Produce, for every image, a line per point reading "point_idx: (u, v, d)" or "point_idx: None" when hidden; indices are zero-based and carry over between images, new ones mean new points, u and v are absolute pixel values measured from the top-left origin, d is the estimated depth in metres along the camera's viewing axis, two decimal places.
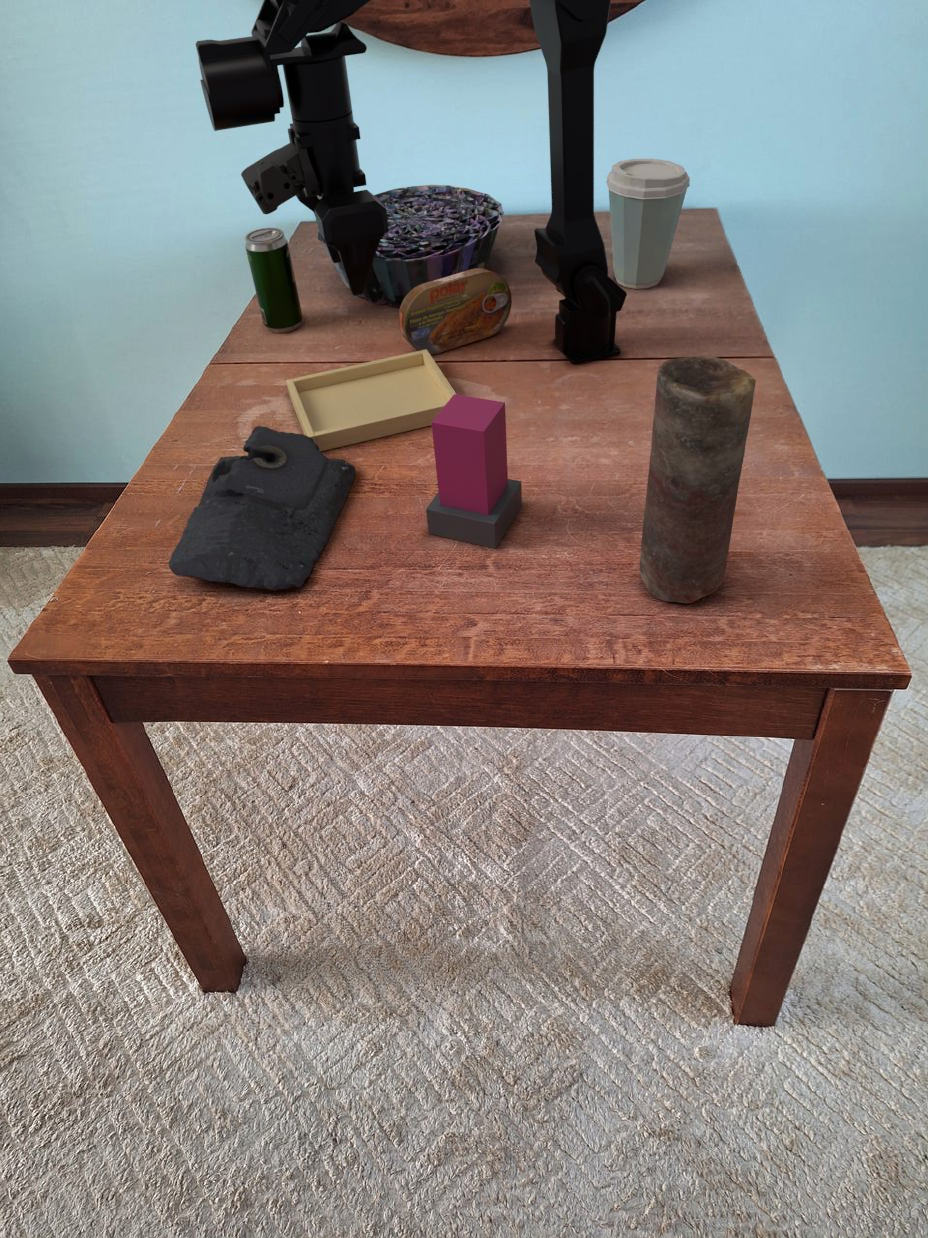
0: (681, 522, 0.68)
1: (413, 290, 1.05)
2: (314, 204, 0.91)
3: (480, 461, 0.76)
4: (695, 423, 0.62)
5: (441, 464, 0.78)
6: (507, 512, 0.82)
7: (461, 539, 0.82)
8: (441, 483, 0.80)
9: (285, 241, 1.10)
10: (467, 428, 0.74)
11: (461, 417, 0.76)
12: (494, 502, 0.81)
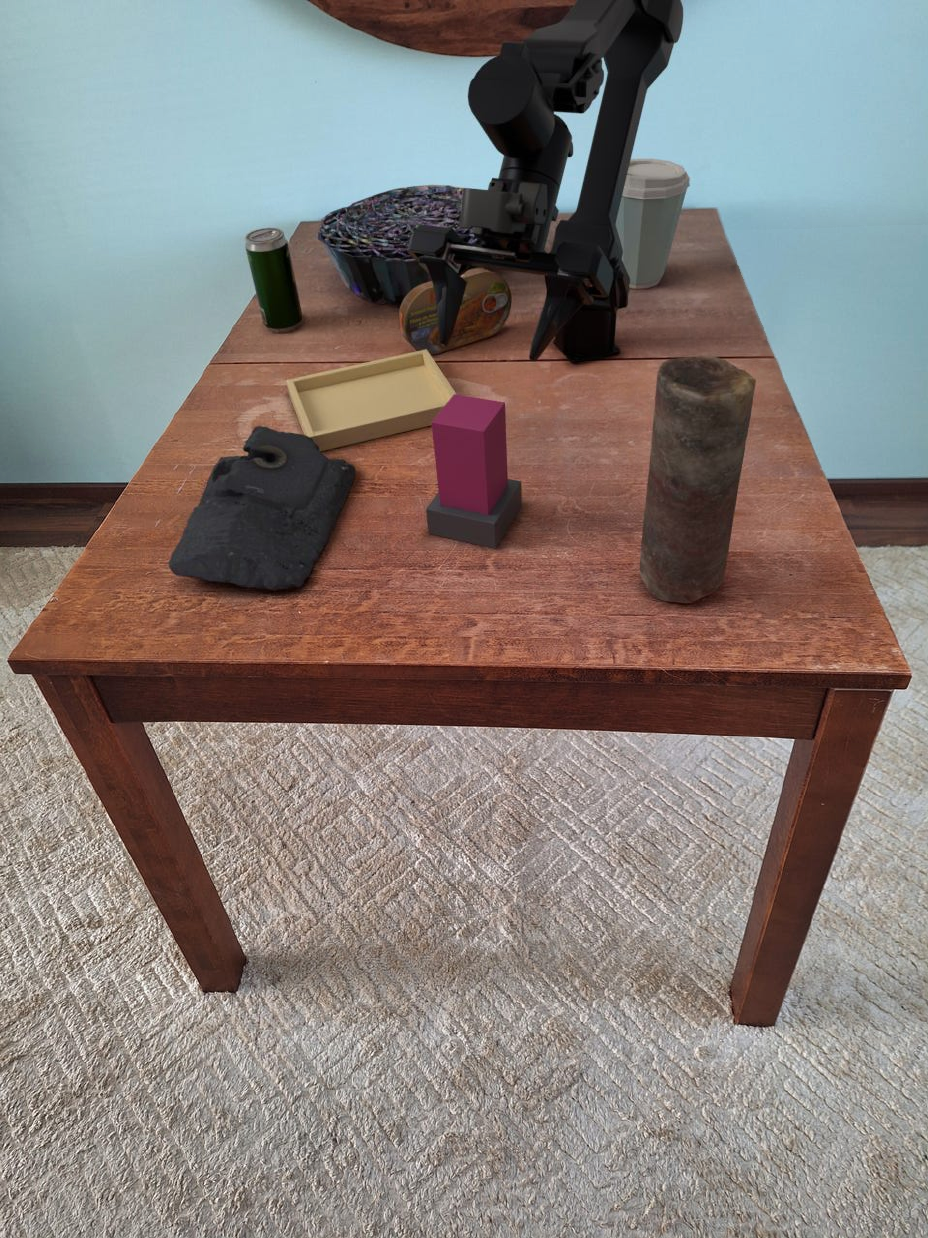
0: (681, 522, 0.68)
1: (413, 290, 1.05)
2: (449, 274, 0.81)
3: (480, 461, 0.76)
4: (695, 423, 0.62)
5: (441, 464, 0.78)
6: (507, 512, 0.82)
7: (461, 539, 0.82)
8: (441, 483, 0.80)
9: (285, 241, 1.10)
10: (467, 428, 0.74)
11: (461, 417, 0.76)
12: (494, 502, 0.81)
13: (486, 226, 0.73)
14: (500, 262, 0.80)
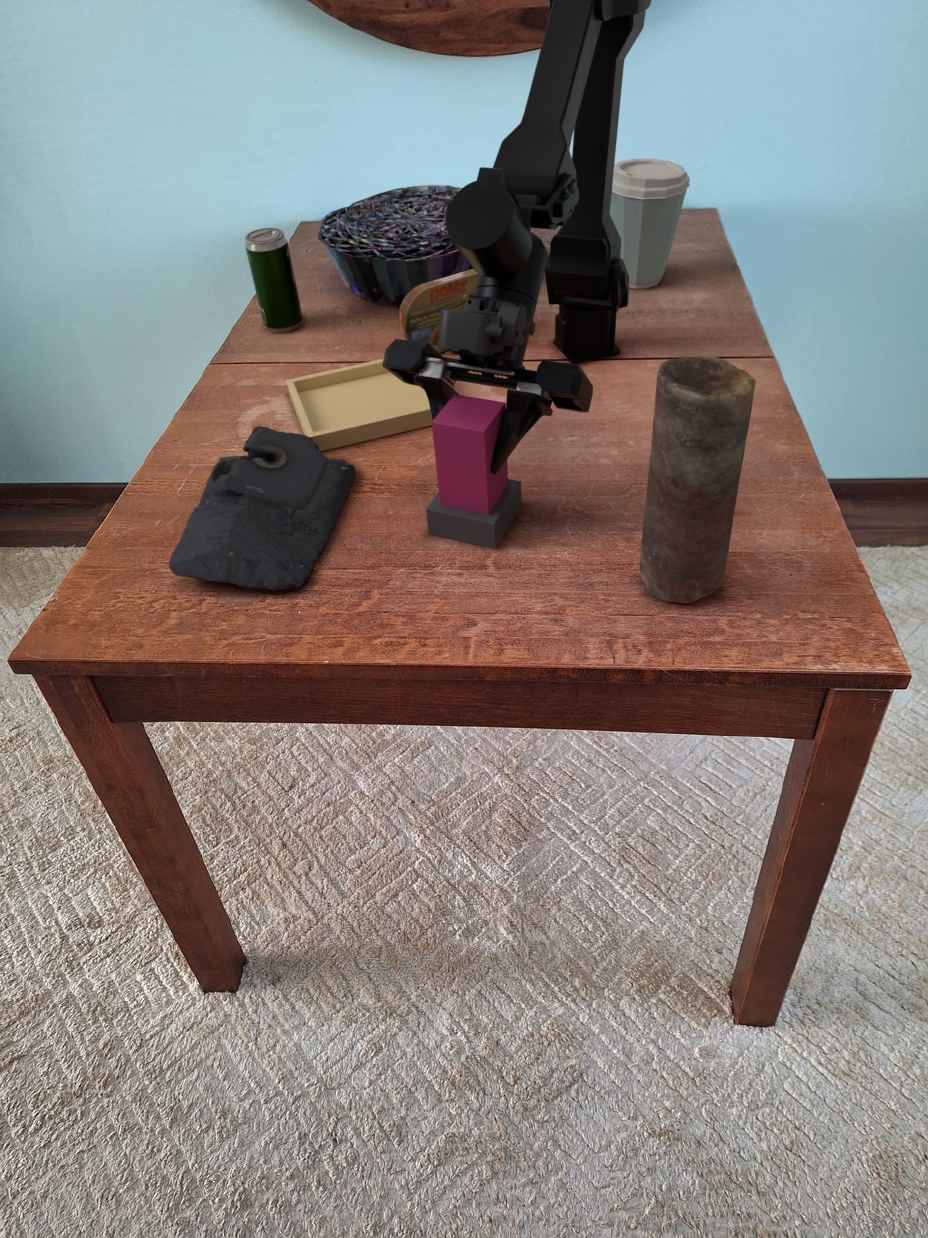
0: (681, 522, 0.68)
1: (413, 290, 1.05)
2: (445, 392, 0.78)
3: (481, 461, 0.76)
4: (695, 423, 0.62)
5: (442, 464, 0.78)
6: (507, 512, 0.82)
7: (461, 539, 0.82)
8: (441, 483, 0.80)
9: (285, 241, 1.10)
10: (468, 429, 0.74)
11: (462, 417, 0.76)
12: (494, 502, 0.81)
13: (465, 348, 0.71)
14: (478, 377, 0.78)
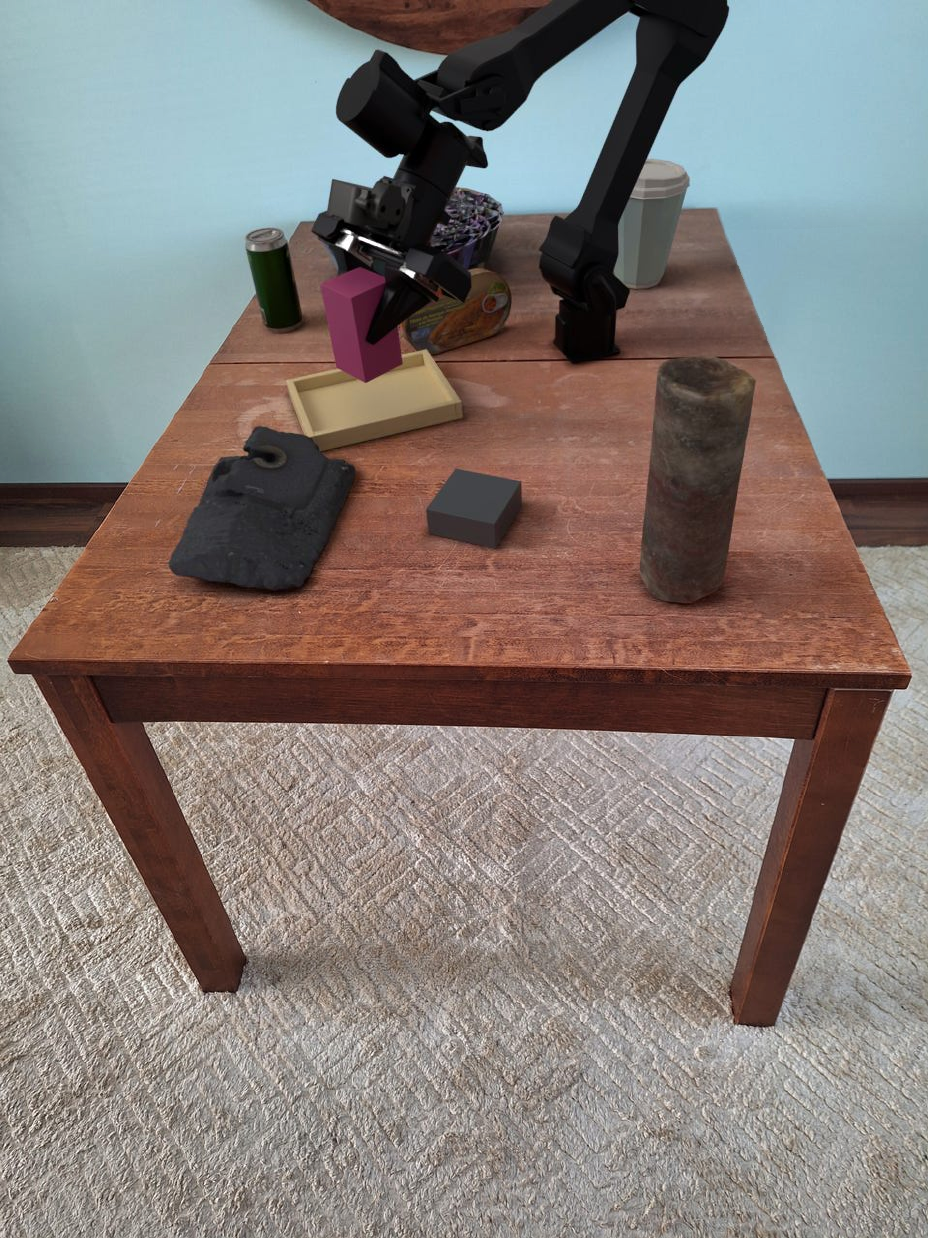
0: (681, 522, 0.68)
1: None
2: (351, 263, 0.86)
3: (353, 328, 0.84)
4: (695, 423, 0.62)
5: (331, 326, 0.87)
6: (507, 512, 0.82)
7: (461, 539, 0.82)
8: (334, 346, 0.89)
9: (285, 241, 1.10)
10: (341, 293, 0.82)
11: (346, 284, 0.84)
12: (376, 374, 0.88)
13: (341, 216, 0.79)
14: (381, 254, 0.86)
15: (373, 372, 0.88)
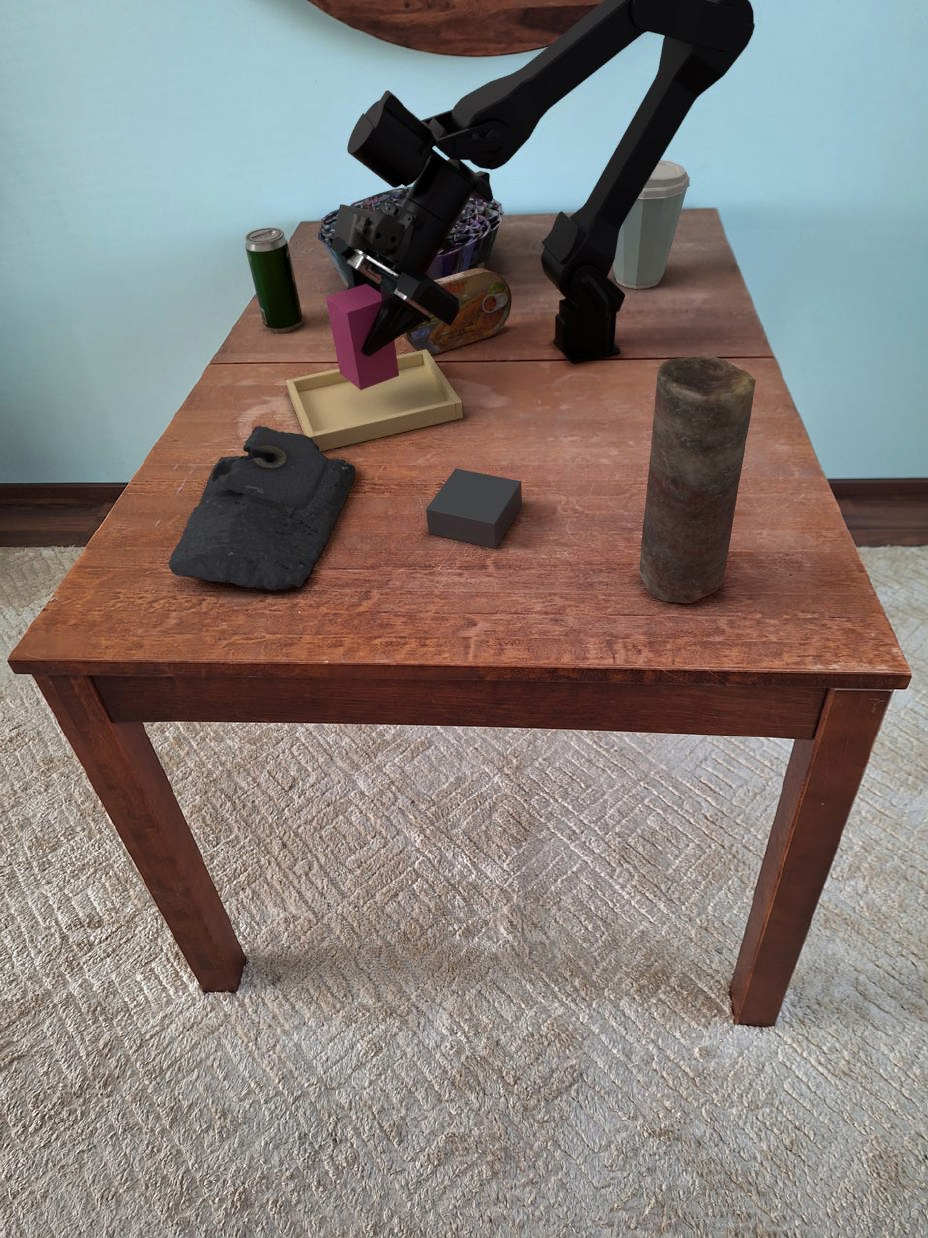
0: (681, 522, 0.68)
1: None
2: (359, 280, 0.94)
3: (349, 339, 0.92)
4: (695, 423, 0.62)
5: (335, 336, 0.95)
6: (507, 512, 0.82)
7: (461, 539, 0.82)
8: (337, 353, 0.97)
9: (285, 241, 1.10)
10: (340, 308, 0.91)
11: (348, 299, 0.92)
12: (371, 382, 0.96)
13: (343, 239, 0.87)
14: (385, 274, 0.93)
15: (368, 381, 0.96)
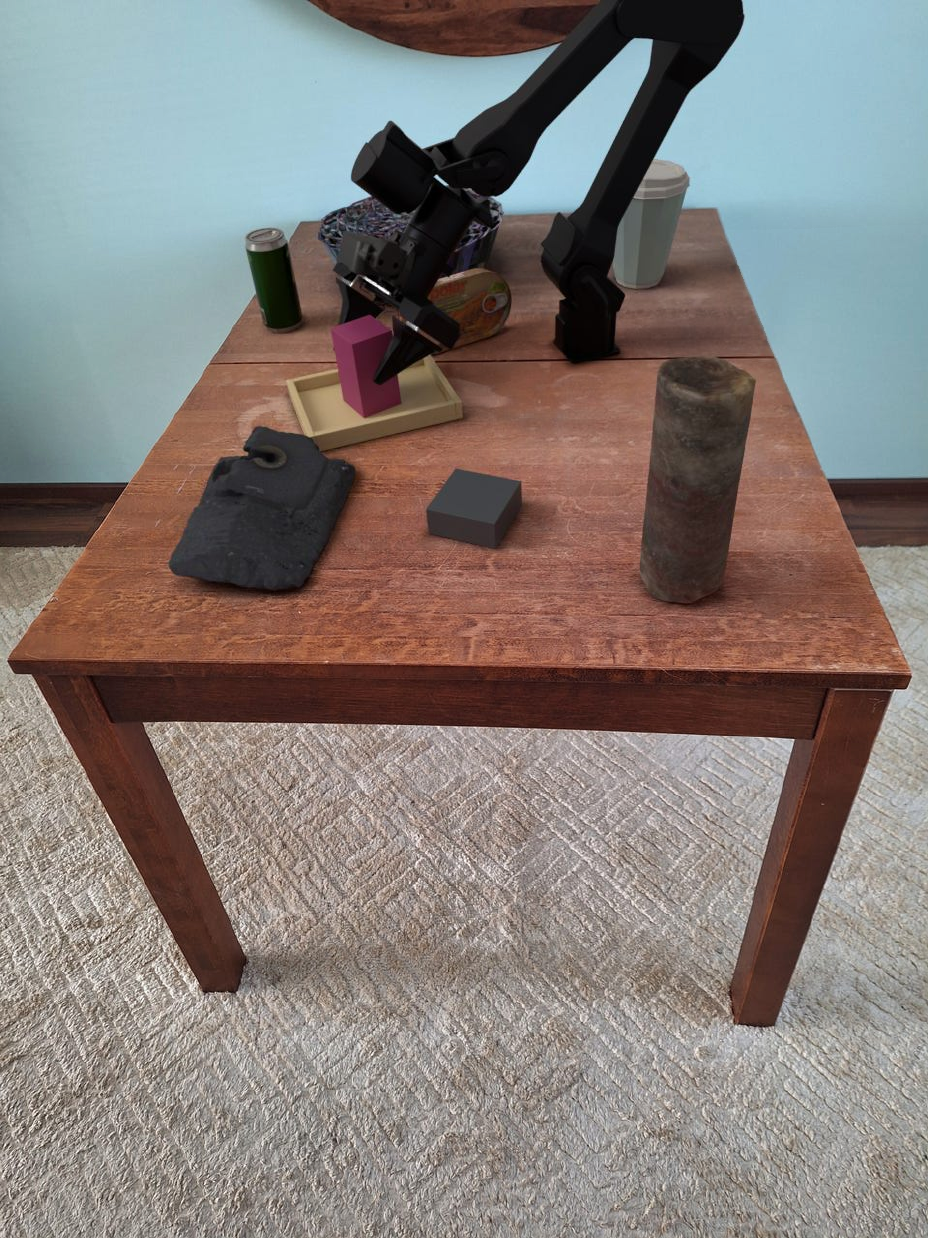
0: (681, 522, 0.68)
1: None
2: (353, 297, 0.97)
3: (354, 370, 0.94)
4: (695, 423, 0.62)
5: (339, 365, 0.98)
6: (507, 512, 0.82)
7: (461, 539, 0.82)
8: (341, 382, 0.99)
9: (285, 241, 1.10)
10: (345, 339, 0.93)
11: (352, 331, 0.94)
12: (375, 410, 0.99)
13: (346, 265, 0.89)
14: (388, 298, 0.95)
15: (372, 409, 0.98)
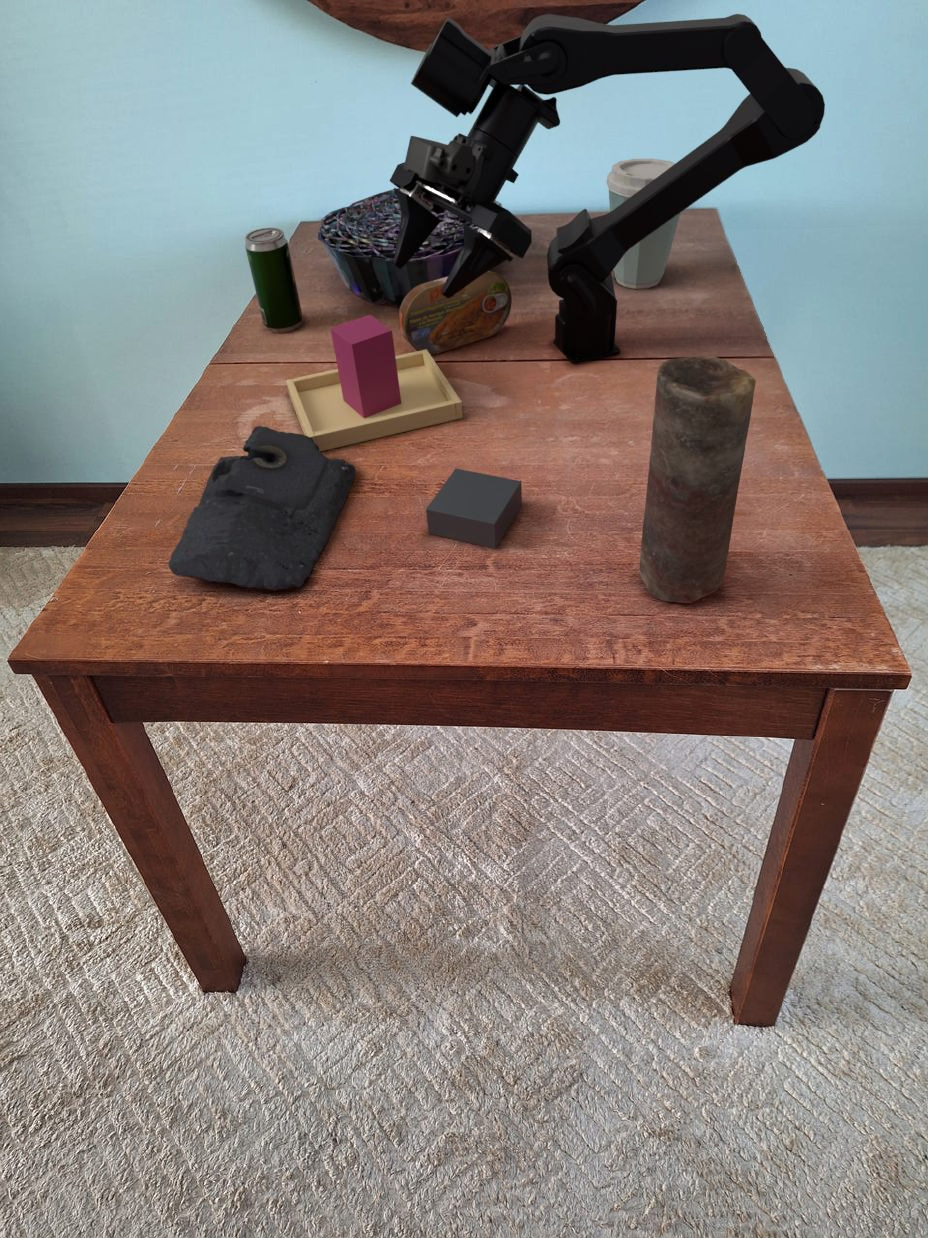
0: (681, 522, 0.68)
1: (413, 290, 1.05)
2: (413, 208, 0.95)
3: (354, 370, 0.94)
4: (695, 423, 0.62)
5: (339, 365, 0.98)
6: (507, 512, 0.82)
7: (461, 539, 0.82)
8: (341, 382, 0.99)
9: (285, 241, 1.10)
10: (345, 339, 0.93)
11: (352, 331, 0.94)
12: (375, 410, 0.99)
13: (416, 171, 0.87)
14: (452, 207, 0.93)
15: (372, 409, 0.98)
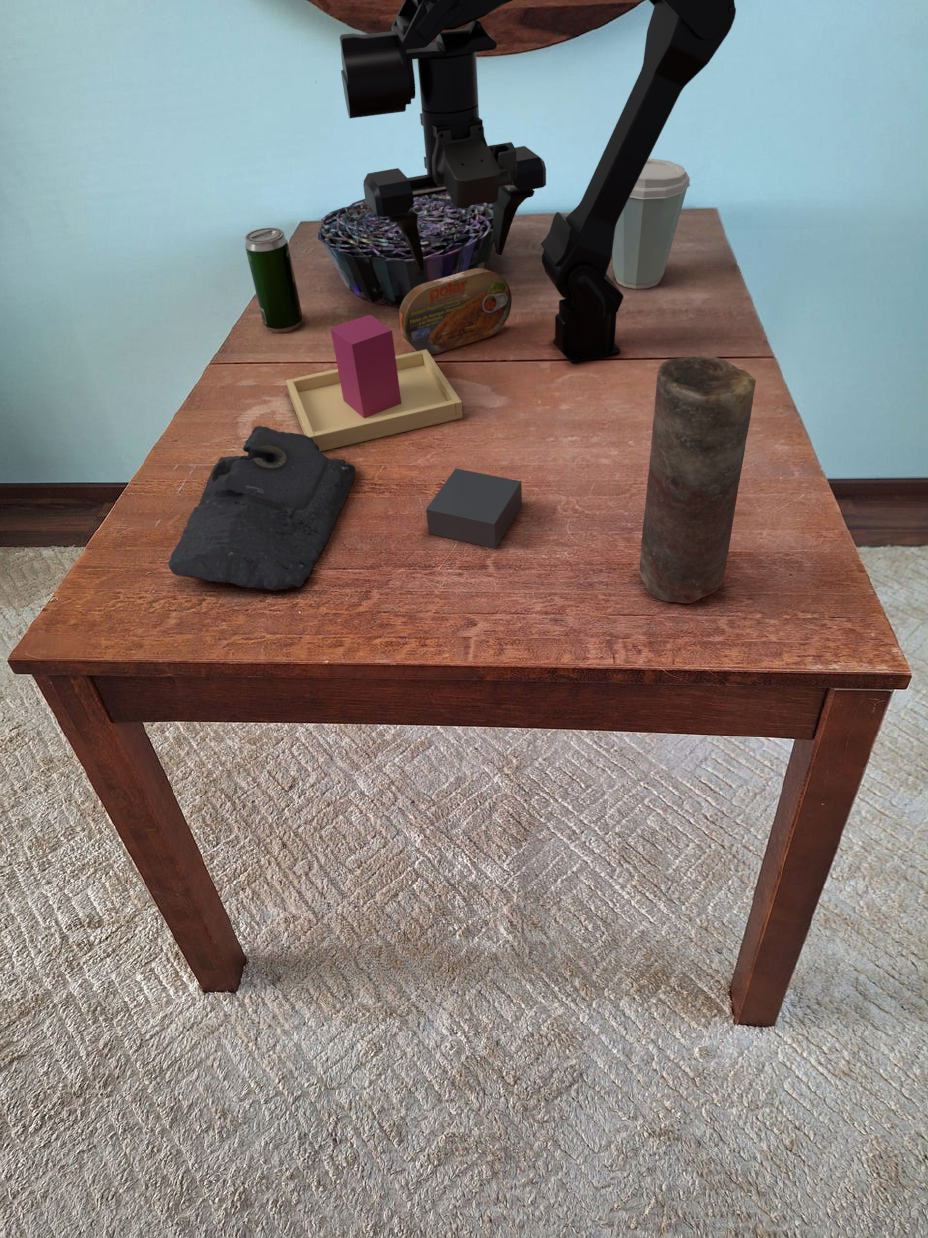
0: (681, 522, 0.68)
1: (413, 290, 1.05)
2: None
3: (354, 370, 0.94)
4: (695, 423, 0.62)
5: (339, 365, 0.98)
6: (507, 512, 0.82)
7: (461, 539, 0.82)
8: (341, 382, 0.99)
9: (285, 241, 1.10)
10: (345, 339, 0.93)
11: (352, 331, 0.94)
12: (375, 410, 0.99)
13: (483, 202, 0.86)
14: None
15: (372, 409, 0.98)
